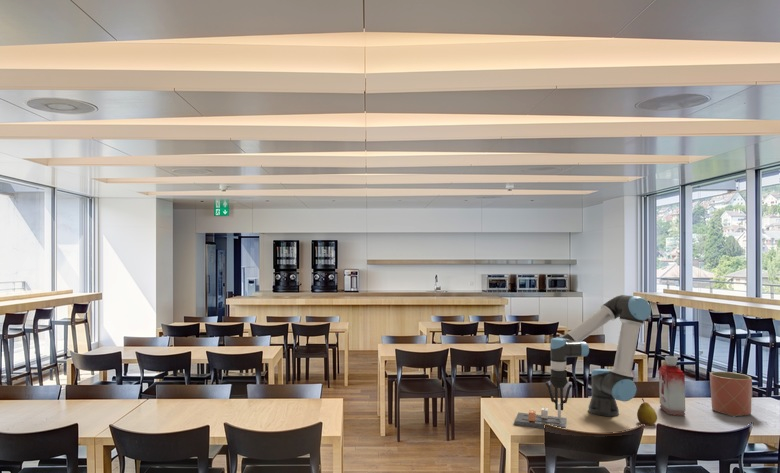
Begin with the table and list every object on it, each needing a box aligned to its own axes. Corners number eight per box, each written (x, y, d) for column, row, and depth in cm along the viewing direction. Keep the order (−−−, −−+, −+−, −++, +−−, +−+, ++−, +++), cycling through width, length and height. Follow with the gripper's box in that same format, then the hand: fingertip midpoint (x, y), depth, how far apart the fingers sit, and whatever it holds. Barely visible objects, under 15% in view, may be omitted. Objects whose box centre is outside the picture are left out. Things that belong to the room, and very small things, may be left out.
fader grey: (548, 416, 258) (548, 408, 258) (547, 418, 254) (547, 410, 254) (542, 415, 259) (541, 407, 259) (541, 417, 255) (541, 409, 255)
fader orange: (535, 419, 253) (535, 410, 253) (534, 421, 250) (534, 413, 250) (529, 418, 254) (529, 410, 255) (528, 420, 251) (528, 412, 251)
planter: (727, 406, 286) (726, 370, 287) (761, 416, 268) (760, 378, 269) (702, 408, 281) (701, 372, 282) (735, 419, 263) (734, 380, 263)
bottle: (687, 416, 266) (686, 359, 268) (666, 415, 268) (665, 358, 270) (677, 408, 280) (676, 354, 282) (657, 407, 282) (656, 353, 284)
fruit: (659, 427, 249) (658, 402, 250) (639, 425, 252) (638, 401, 252) (655, 421, 258) (654, 398, 258) (635, 420, 260) (635, 396, 261)
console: (566, 421, 256) (566, 417, 256) (565, 431, 242) (565, 426, 242) (518, 416, 265) (518, 412, 265) (514, 424, 251) (514, 420, 251)
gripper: (572, 368, 256) (573, 415, 255) (545, 366, 261) (546, 412, 260) (571, 371, 249) (572, 420, 248) (544, 369, 254) (545, 417, 253)
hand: (559, 416), depth 254 cm, fingers closed
